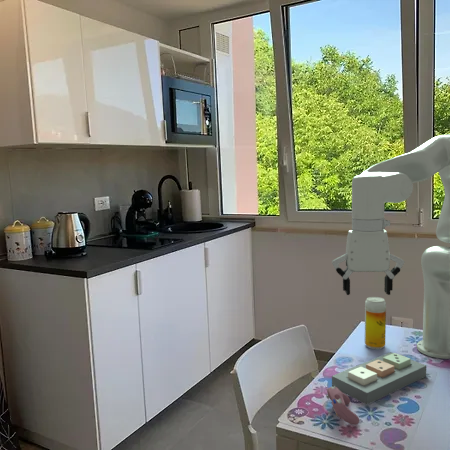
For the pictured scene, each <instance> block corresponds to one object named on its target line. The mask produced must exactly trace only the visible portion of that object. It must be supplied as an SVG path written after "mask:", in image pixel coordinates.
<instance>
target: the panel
mask: <svg viewBox="0 0 450 450" xmlns="http://www.w3.org/2000/svg"><path fill="white" fill-rule="evenodd" d="M393 353H394V352H388V353H385V354H382V355H380V356H378V357H375V358H373V359H370V360H368V361H366V362H363V363H360V364H358V365H356V366H353V367H350V368H348V369H346V370H343V371H341V372H338V373H335V374H334V375H332V376H331V387H334V386H335V387H337V388H338V389H339V390H340V391H341V392H343V393H344V394H346V395H347V396H348V397H351V398H352V399H355V400H357V401H359V402H360V403H362V404H365V405H367V406H368V405H370V404H372V403H374V402H376V401H378V400H380V399H382V398H384V397H386V396H389V395H390V394H393V393H394V392H396V391H399V390H400V389H403V388H405V387H408V385H412V384H414V383H415V382H417V381H420V380H421V379H423V378H425V377H427V365H426V364H423V363H421V362H419V361H415V360H413V359H411V365H409V366H407V367H405V368H403V369H401V370H398V369H396V368H394V373H392V374H389V375H387V376H385V377H383V378H382V377H380V376H377V380H376V381H374V382H372V383H369V384H367V385H365V386H363V385H361V384H359V383H357V382H355V381H353V380H351V379H348V372H349V371H351V370H354V369H356V368H359V367H363V368H366V364H368V363H371V362H373V361H376V360H381V361H383V357H385V356H388V355H390V354H393Z"/></svg>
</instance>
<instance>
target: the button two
mask: <svg viewBox="0 0 450 450" xmlns="http://www.w3.org/2000/svg"><path fill="white" fill-rule="evenodd" d="M366 369H368V370H370V371H373V372H375V373H377V376H380V377H382V378H383V377H385V376H387V375H389V374H392V373H394V365H391V364H389V363H386V362H383V361H381V360H376V361H373V362H371V363H368V364H366Z"/></svg>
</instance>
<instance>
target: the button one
mask: <svg viewBox="0 0 450 450" xmlns="http://www.w3.org/2000/svg"><path fill="white" fill-rule="evenodd" d="M348 379H351V380H353V381H355V382H357V383H359V384H361V385H363V386H365V385H367V384H369V383H372V382H374V381H376V380H377V373H375V372H373V371H370V370H368V369H366V368H363V367H359V368H356V369H354V370H351V371H349V372H348Z"/></svg>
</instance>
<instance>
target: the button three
mask: <svg viewBox="0 0 450 450" xmlns="http://www.w3.org/2000/svg"><path fill="white" fill-rule="evenodd" d="M392 353H393V354H390V355H388V356H385V357H383V362H386V363H389V364H391V365H394V368H396V369H398V370H401V369H403V368H405V367H407V366H409V365H411V360H412V359H411V358H409V357H407V356H404V355H401V354H399V353H396V352H392Z"/></svg>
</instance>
